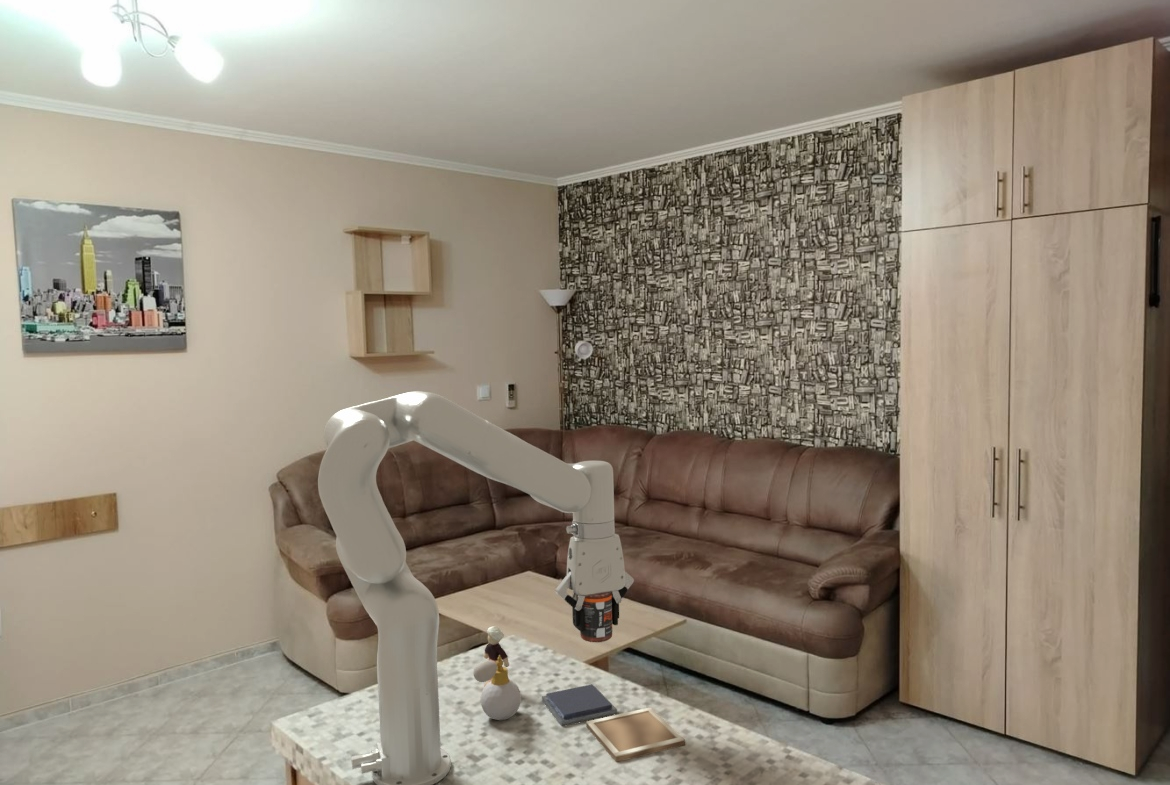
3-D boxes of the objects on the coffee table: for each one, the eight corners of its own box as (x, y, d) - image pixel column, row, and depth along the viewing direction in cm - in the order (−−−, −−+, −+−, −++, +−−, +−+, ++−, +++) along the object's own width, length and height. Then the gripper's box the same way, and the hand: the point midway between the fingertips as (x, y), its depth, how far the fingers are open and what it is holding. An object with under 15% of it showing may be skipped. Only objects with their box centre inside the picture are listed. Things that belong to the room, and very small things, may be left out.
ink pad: (561, 726, 142) (561, 717, 142) (541, 701, 152) (541, 692, 152) (617, 714, 146) (616, 705, 146) (594, 690, 156) (593, 682, 156)
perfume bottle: (526, 708, 149) (524, 647, 148) (511, 733, 140) (509, 668, 139) (488, 706, 151) (486, 645, 150) (471, 730, 141) (469, 665, 140)
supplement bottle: (610, 644, 140) (608, 582, 140) (577, 643, 141) (576, 581, 141) (614, 632, 146) (613, 572, 146) (583, 631, 147) (581, 571, 147)
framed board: (616, 761, 129) (615, 756, 129) (586, 726, 141) (586, 721, 141) (685, 744, 134) (685, 739, 134) (650, 712, 146) (650, 707, 146)
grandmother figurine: (475, 687, 159) (473, 626, 158) (488, 680, 162) (486, 620, 161) (504, 696, 155) (502, 633, 154) (517, 689, 158) (515, 627, 157)
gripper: (557, 539, 136) (560, 641, 137) (645, 527, 143) (647, 624, 144) (542, 530, 142) (545, 627, 144) (626, 519, 149) (628, 612, 151)
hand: (596, 625), depth 144 cm, fingers closed on supplement bottle, 6 cm apart
